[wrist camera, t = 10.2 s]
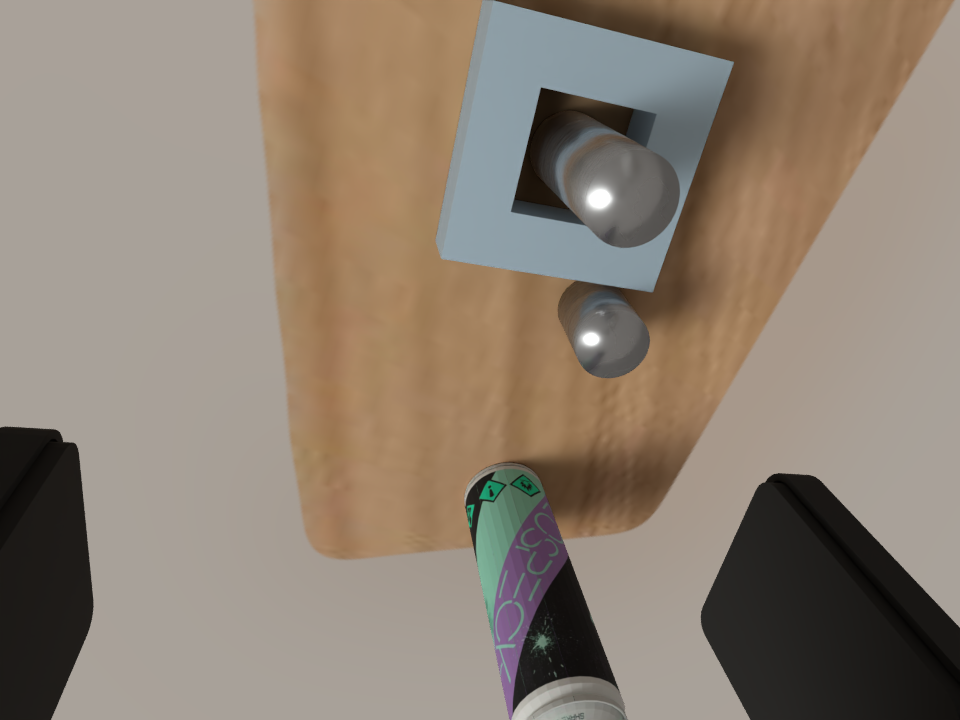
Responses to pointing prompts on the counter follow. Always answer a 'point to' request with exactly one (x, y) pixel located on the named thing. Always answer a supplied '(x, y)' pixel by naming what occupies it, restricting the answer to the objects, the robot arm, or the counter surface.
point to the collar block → (506, 128)
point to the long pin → (605, 178)
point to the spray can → (536, 603)
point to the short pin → (603, 329)
